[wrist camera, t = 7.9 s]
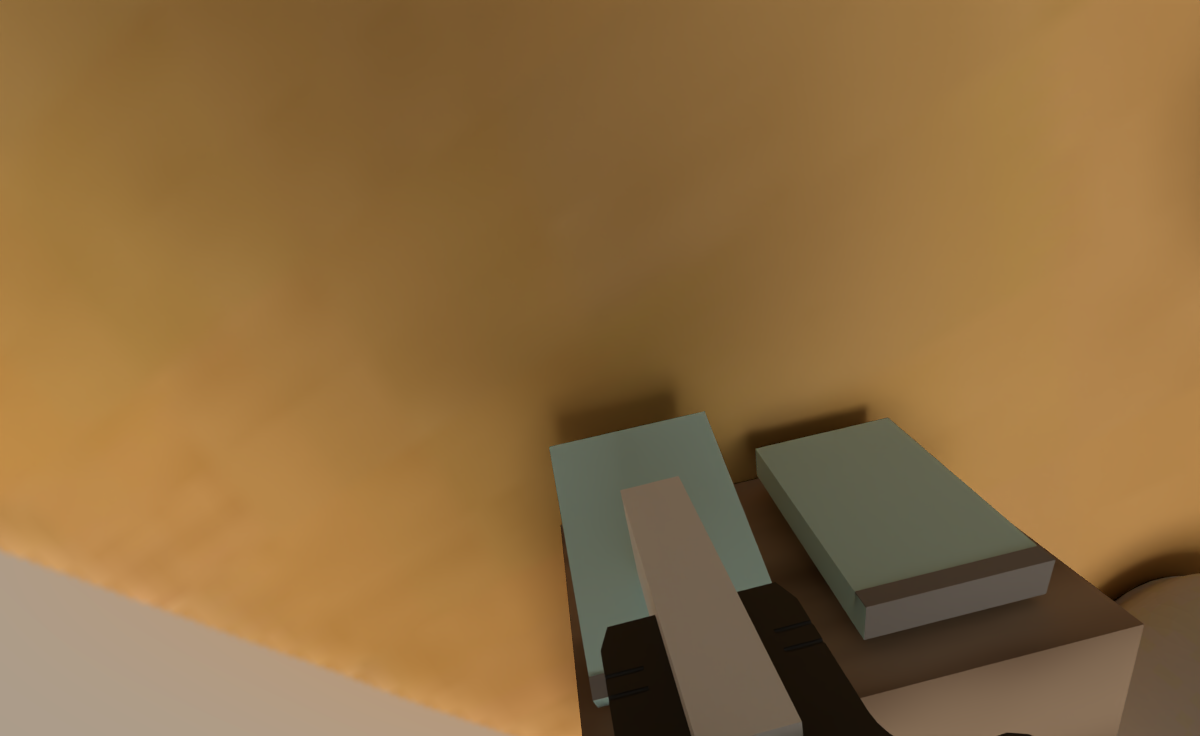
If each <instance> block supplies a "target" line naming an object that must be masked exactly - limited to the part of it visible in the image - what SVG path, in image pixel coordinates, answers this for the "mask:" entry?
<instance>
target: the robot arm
mask: <svg viewBox="0 0 1200 736" xmlns="http://www.w3.org/2000/svg"><path fill="white" fill-rule="evenodd" d="M620 492H621V497H622V502H623V506H624V511H625V516H626V521H627V526H628V530H629V535H630V540H631V545H632V549H633V554H634V559H635V564H636V569H637V573H638V577H639V581H640V584H641V588H642V592H643V595H644V599H645V602H646V606H647V609H648V613H649V616H648V617H645V618H641V619H637V620H633V621H629V622H625V623H621V624H617V625H613V626H609V627H607V629H606V633H605V637H604V640H603V644H602V647H601V657H602V663H603V669H604V675H605V680H606V687H607V693H608V698H609V705H610V711H611V717H612V723H613V730H614V736H893V735H891V734H890V733H889V732H887V731H886V730H885V729H884V728H883V727H882V726H881V725H879V724H878V723H877V722H876V720H875V719H874V718H873V716H872V715H871V714H870V713H869V711H868V710H867V708H866V707H865V705H864V703H863V702H862V700H861V699H860V697H859V696H858V694H857V692H856V691H855V689H854V688H853V686H852V684H851V683H850V681H849V680H848V678H847V677H846V675H845V673H844V672H843V670H842V669H841V667H840V665H839V664H838V662H837V661H836V659H835V658H834V656H833V654H832V653H831V651H830V650H829V648H828V646H827V645H826V643H824V642H823V640H822V637H821V635H820V634H819V632H818V631H817V629H816V627H815V626H814V624H812V623H811V620H810V618H809V616H808V615H807V613H806V612H805V610H804V608H803V607H802V605H801V604H800V602H799V601H798V599H797V598H796V597H795V596H793V595H792V594H791V593H789V592H788V591H787V590H785V589H784V588H783V587H781V586H780V585H779V584H777V583H776V582H774V583H770V584H766V585H762V586H758V587H754V588H750V589H746V590H742V591H738V592H737V591H736V589H735V587H734V585H733V583H732V581H731V579H730V577H729V575H728V573H727V571H726V569H725V567H724V565H723V563H722V561H721V559H720V557H719V555H718V553H717V552H716V550H715V548H714V546H713V544H712V542H711V540H710V538H709V536H708V534H707V532H706V530H705V528H704V526H703V524H702V522H701V520H700V518H699V516H698V514H697V512H696V510H695V508H694V506H693V504H692V502H691V500H690V498H689V496H688V494H687V492H686V490H685V488H684V486H683V484H682V482H681V480H680V478H679V476H676V477H672V478H668V479H664V480H659V481H655V482H651V483H648V484H644V485H640V486H636V487H631V488H627V489H623V490H620ZM998 736H1032V735H1030V734H1022V733H1008V732H1007V733H1004V734H1001V735H998Z"/></svg>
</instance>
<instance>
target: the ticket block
mask: <svg viewBox="0 0 1200 736" xmlns="http://www.w3.org/2000/svg"><path fill="white" fill-rule="evenodd" d="M733 485H734V487H735V490H736V492H737V495H738V498H739V500H740V503H741V505H742V508H743V510H744V513H745V515H746V518H747V520H748V523H749V526H750V528H751V531H752V533H753V536H754V538H755V541H756V543H757V546H758V548H759V551H760V553H761V556H762V559H763V561H764V564H765V566H766V569H767V571H768V574H769V576H770V579H771V581H772V583H774V582H776V583H777V584H779V585H780V586H781V587H783V588H784V589H785V590H787V591H788V592H789V593H791V594H792V595H793V596H795V597H796V598H797V599H798V601H799V602H800V604H801V605H802V607H803V608H804V610H805V612H806V613H807V615H808V616H809V618H810V620H811V623H812V624H814V626H815V627H816V629H817V631H818V632H819V634H820V635H821V637H822V640H823V642H824V643H826V645H827V646H828V648H829V650H830V651H831V653H832V654H833V656H834V658H835V659H836V661H837V662H838V664H839V665H840V667H841V669H842V670H843V672H844V673H845V675H846V677H847V678H848V680H849V681H850V683H851V684H852V686H853V688H854V689H855V691H856V692H857V694H858V696H859V697H860V699H861V700H862V702H863V703H864V705H865V707H866V708H867V710H868V711H869V713H870V714H871V715H872V716H873V718H874V719H875V720H876V722H877V723H878V724H879V725H881V726H882V727H883V728H884V729H885V730H886V731H887V732H889V733H890V734H891V735H893V736H998V735H1001V734H1004V733H1007V732H1008V733H1022V734H1030V735H1032V736H1117V733H1118V729H1119V725H1120V721H1121V717H1122V713H1123V709H1124V704H1125V700H1126V696H1127V692H1128V688H1129V684H1130V680H1131V676H1132V672H1133V668H1134V664H1135V660H1136V656H1137V652H1138V648H1139V644H1140V640H1141V636H1142V632H1143V627H1144V624H1143V623H1142V622H1141V621H1139V620H1138V619H1137V618H1135V617H1134V616H1133V615H1131V614H1130V613H1129V612H1127V611H1126V610H1125V609H1123V608H1122V607H1121V606H1119V605H1118V604H1117V603H1116V602H1114V601H1113V600H1112V599H1110V598H1109V597H1108V596H1106V595H1105V594H1104V593H1102V592H1101V591H1100V590H1098V589H1097V588H1096V587H1094V586H1093V585H1092V584H1090V583H1089V582H1088V581H1087V580H1085V579H1084V578H1083V577H1081V576H1080V575H1079V574H1077V573H1076V572H1075V571H1073V570H1072V569H1071V568H1069V567H1068V566H1067V565H1065V564H1064V563H1063V562H1062V561H1060V560H1059V559H1058V558H1056V557H1055V556H1054V555H1052V554H1051V553H1050V552H1048V551H1047V550H1046V549H1044V548H1043V547H1042V546H1040V545H1039V544H1038V543H1036V542H1035V541H1034V540H1033V539H1031V538H1030V537H1029V536H1027V535H1026V534H1025V533H1023V532H1022V531H1021V530H1020V531H1021V532H1022V533H1023V534H1024V535H1026V536H1027V537H1028V538H1029V539H1030V540H1031V541H1033V542H1034V543H1035V544H1036V545H1037V546H1040V547H1041V548H1042V549H1044V550H1045V551H1046V552H1047V553H1048V554H1049V555H1051V556H1052V557H1053V558H1054V559H1055V564H1054V567H1053V571H1052V574H1051V578H1050V581H1049V585H1048V589H1047V592H1046V594H1043V595H1040V596H1036V597H1032V598H1028V599H1024V600H1020V601H1016V602H1012V603H1008V604H1004V605H1000V606H996V607H992V608H988V609H985V610H981V611H977V612H973V613H969V614H965V615H961V616H957V617H953V618H949V619H945V620H941V621H937V622H933V623H930V624H926V625H922V626H918V627H914V628H910V629H906V630H902V631H898V632H894V633H890V634H886V635H882V636H879V637H875V638H871V639H867V640H864V639H863V638H862V636H861V635H860V633H859V632H858V630H857V629H856V627H855V625H854V624H853V622H852V621H851V619H850V618H849V616H848V615H847V613H846V612H845V610H844V609H843V607H842V605H841V604H840V602H839V601H838V599H837V598H836V596H835V595H834V593H833V592H832V590H831V589H830V587H829V585H828V584H827V582H826V581H825V579H824V578H823V576H822V575H821V573H820V572H819V570H818V568H817V567H816V565H815V564H814V562H813V561H812V559H811V558H810V556H809V555H808V553H807V552H806V550H805V548H804V547H803V545H802V544H801V542H800V541H799V539H798V538H797V536H796V535H795V533H794V532H793V530H792V528H791V527H790V525H789V524H788V522H787V521H786V519H785V518H784V516H783V515H782V513H781V511H780V510H779V508H778V507H777V505H776V504H775V502H774V501H773V499H772V498H771V496H770V495H769V493H768V491H767V490H766V488H765V487H764V485H763V484H762V482H761V481H760V479H759V478H758V479H754V480H750V481H745V482H741V483H737V484H733ZM1016 528H1017V527H1016ZM1017 529H1018V528H1017ZM561 534H562V543H563V553H564V563H565V573H566V582H567V592H568V602H569V612H570V621H571V631H572V641H573V650H574V660H575V670H576V680H577V689H578V699H579V709H580V718H581V728H582V736H614V730H613V723H612V717H611V711H610V705H608V706H604V707H600V708H598V707H597V706H596V705H595V703H594V702H593V699H592V693H591V688H590V682H589V675H588V669H587V664H586V658H585V652H584V646H583V640H582V635H581V629H580V623H579V617H578V611H577V605H576V600H575V594H574V588H573V582H572V576H571V571H570V565H569V559H568V553H567V547H566V542H565V536H564V530H563V525H561Z"/></svg>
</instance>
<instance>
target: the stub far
mask: <svg viewBox="0 0 1200 736" xmlns="http://www.w3.org/2000/svg"><path fill="white" fill-rule="evenodd" d="M755 450H756V469H757V476H758V478H759V479H760V481H761V482H762V484H763V485H764V487H765V488H766V490H767V491H768V493H769V495H770V496H771V498H772V499H773V501H774V502H775V504H776V505H777V507H778V508H779V510H780V511H781V513H782V515H783V516H784V518H785V519H786V521H787V522H788V524H789V525H790V527H791V528H792V530H793V532H794V533H795V535H796V536H797V538H798V539H799V541H800V542H801V544H802V545H803V547H804V548H805V550H806V552H807V553H808V555H809V556H810V558H811V559H812V561H813V562H814V564H815V565H816V567H817V568H818V570H819V572H820V573H821V575H822V576H823V578H824V579H825V581H826V582H827V584H828V585H829V587H830V589H831V590H832V592H833V593H834V595H835V596H836V598H837V599H838V601H839V602H840V604H841V605H842V607H843V609H844V610H845V612H846V613H847V615H848V616H849V618H850V619H851V621H852V622H853V624H854V625H855V627H856V629H857V630H858V632H859V633H860V635H861V636H862V638H863V639H864V640H867V639H871V638H875V637H879V636H882V635H886V634H890V633H894V632H898V631H902V630H906V629H910V628H914V627H918V626H922V625H926V624H930V623H933V622H937V621H941V620H945V619H949V618H953V617H957V616H961V615H965V614H969V613H973V612H977V611H981V610H985V609H988V608H992V607H996V606H1000V605H1004V604H1008V603H1012V602H1016V601H1020V600H1024V599H1028V598H1032V597H1036V596H1040V595H1043V594H1046V592H1047V589H1048V585H1049V581H1050V578H1051V574H1052V571H1053V567H1054V564H1055V559H1054V558H1053V557H1052V556H1051V555H1049V554H1048V553H1047V552H1046V551H1045V550H1044V549H1042V548H1041V547H1040V546H1037V545H1036V544H1035V543H1034V542H1033V541H1031V540H1030V539H1029V538H1028V537H1027V536H1026V535H1024V534H1023V533H1022V532H1021V531H1020V530H1019V529H1017V528H1016V527H1015V526H1014V525H1013V524H1012V523H1010V522H1009V521H1008V520H1007V519H1006V518H1005V517H1003V516H1002V515H1001V514H1000V513H999V512H998V511H996V510H995V509H994V508H993V507H992V506H991V505H989V504H988V503H987V502H986V501H985V500H984V499H982V498H981V497H980V496H979V495H978V494H977V493H975V492H974V491H973V490H972V489H971V488H970V487H968V486H967V485H966V484H965V483H964V482H962V481H961V480H960V479H959V478H958V477H957V476H955V475H954V474H953V473H952V472H951V471H950V470H948V469H947V468H946V467H945V466H944V465H943V464H941V463H940V462H939V461H938V460H937V459H936V458H934V457H933V456H932V455H931V454H930V453H929V452H927V451H926V450H925V449H924V448H923V447H922V446H920V445H919V444H918V443H917V442H916V441H915V440H913V439H912V438H911V437H910V436H909V435H908V434H906V433H905V432H904V431H903V430H902V429H901V428H899V427H898V426H897V425H896V424H895V423H894V422H892V421H891V420H890V419H889V418H884V419H880V420H876V421H872V422H867V423H863V424H859V425H854V426H850V427H846V428H842V429H837V430H833V431H829V432H825V433H820V434H816V435H812V436H807V437H803V438H799V439H795V440H790V441H786V442H782V443H777V444H773V445H769V446H765V447H760V448H756V449H755Z"/></svg>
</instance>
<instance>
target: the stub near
mask: <svg viewBox="0 0 1200 736" xmlns="http://www.w3.org/2000/svg"><path fill="white" fill-rule="evenodd" d="M549 449H550V454H551V460H552V466H553V472H554V478H555V484H556V489H557V495H558V501H559V507H560V513H561V518H562V524H563V530H564V536H565V542H566V547H567V553H568V559H569V565H570V571H571V576H572V582H573V588H574V594H575V600H576V605H577V611H578V617H579V623H580V629H581V635H582V640H583V646H584V652H585V658H586V664H587V669H588V675H589V682H590V688H591V693H592V699H593V702H594V703H595V705H596V706H597V707H598V708H600V707H604V706H608V705H609V698H608V693H607V687H606V680H605V675H604V669H603V663H602V657H601V647H602V644H603V640H604V637H605V633H606V629H607V627H609V626H613V625H617V624H621V623H625V622H629V621H633V620H637V619H641V618H645V617H648V616H649V613H648V609H647V606H646V602H645V599H644V595H643V592H642V588H641V584H640V581H639V577H638V573H637V569H636V564H635V559H634V554H633V549H632V545H631V540H630V535H629V530H628V526H627V521H626V516H625V511H624V506H623V502H622V497H621V492H620V490H623V489H627V488H631V487H636V486H640V485H644V484H648V483H651V482H655V481H659V480H664V479H668V478H672V477H676V476H679V478H680V480H681V482H682V484H683V486H684V488H685V490H686V492H687V494H688V496H689V498H690V500H691V502H692V504H693V506H694V508H695V510H696V512H697V514H698V516H699V518H700V520H701V522H702V524H703V526H704V528H705V530H706V532H707V534H708V536H709V538H710V540H711V542H712V544H713V546H714V548H715V550H716V552H717V553H718V555H719V557H720V559H721V561H722V563H723V565H724V567H725V569H726V571H727V573H728V575H729V577H730V579H731V581H732V583H733V585H734V587H735V589H736V591H737V592H738V591H742V590H746V589H750V588H754V587H758V586H762V585H766V584H770V583H772V581H771V579H770V576H769V574H768V571H767V569H766V566H765V564H764V561H763V559H762V556H761V553H760V551H759V548H758V546H757V543H756V541H755V538H754V536H753V533H752V531H751V528H750V526H749V523H748V520H747V518H746V515H745V513H744V510H743V508H742V505H741V503H740V500H739V498H738V495H737V492H736V490H735V487H734V485H733V482H732V480H731V477H730V475H729V472H728V470H727V467H726V464H725V462H724V459H723V457H722V454H721V452H720V449H719V447H718V444H717V442H716V439H715V436H714V434H713V431H712V429H711V426H710V424H709V421H708V419H707V416H706V414H705V411H704V412H699V413H695V414H691V415H686V416H682V417H677V418H673V419H669V420H664V421H660V422H656V423H651V424H647V425H642V426H638V427H634V428H629V429H625V430H621V431H616V432H612V433H608V434H603V435H599V436H594V437H590V438H586V439H581V440H577V441H573V442H568V443H564V444H559V445H555V446H551V447H549Z"/></svg>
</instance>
